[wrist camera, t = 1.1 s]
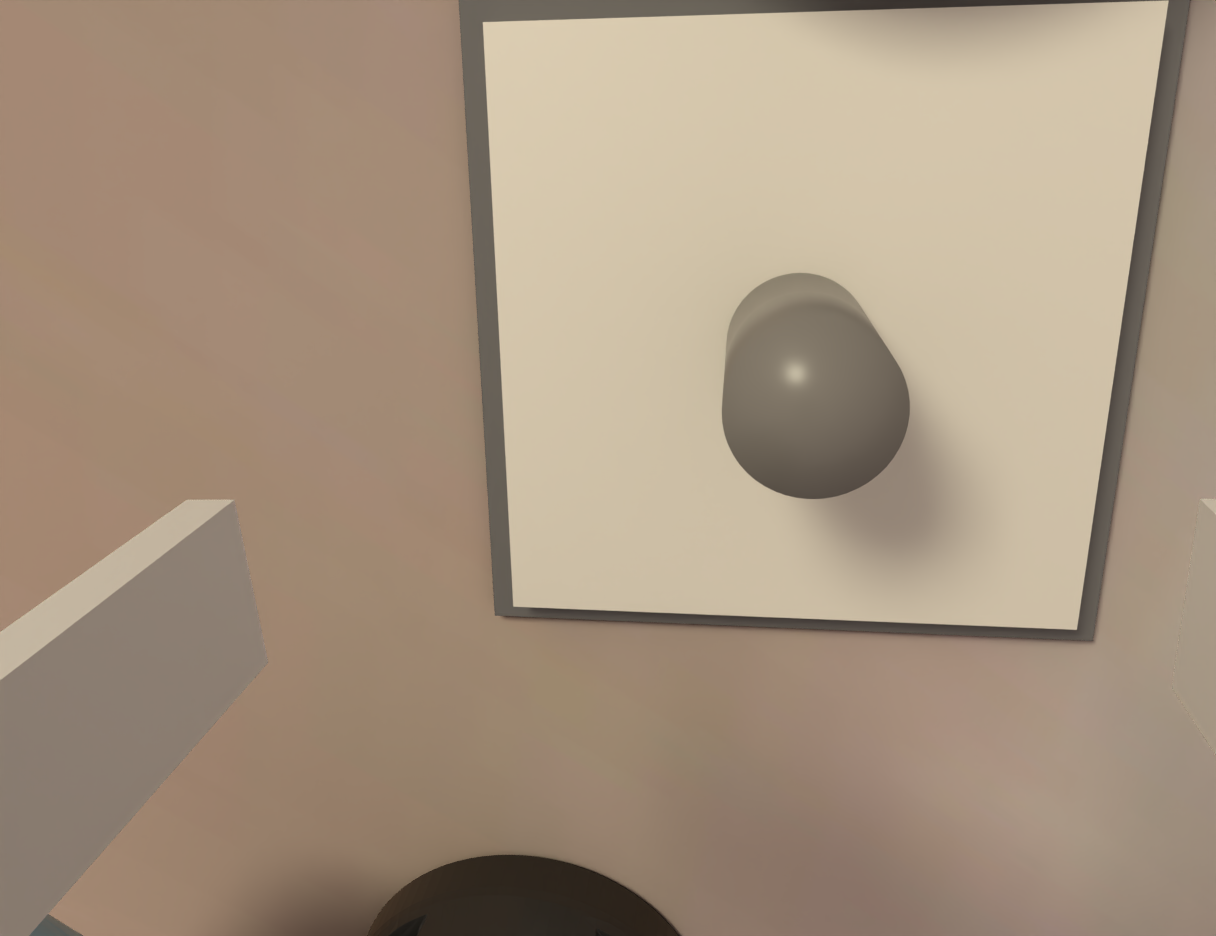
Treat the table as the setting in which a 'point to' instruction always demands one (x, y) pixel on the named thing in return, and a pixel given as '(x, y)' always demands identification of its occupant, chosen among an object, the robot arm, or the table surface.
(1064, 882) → the table surface
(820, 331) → the lid
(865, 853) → the table surface
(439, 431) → the table surface
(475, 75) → the mat
